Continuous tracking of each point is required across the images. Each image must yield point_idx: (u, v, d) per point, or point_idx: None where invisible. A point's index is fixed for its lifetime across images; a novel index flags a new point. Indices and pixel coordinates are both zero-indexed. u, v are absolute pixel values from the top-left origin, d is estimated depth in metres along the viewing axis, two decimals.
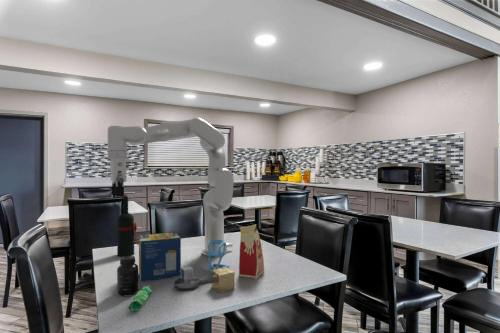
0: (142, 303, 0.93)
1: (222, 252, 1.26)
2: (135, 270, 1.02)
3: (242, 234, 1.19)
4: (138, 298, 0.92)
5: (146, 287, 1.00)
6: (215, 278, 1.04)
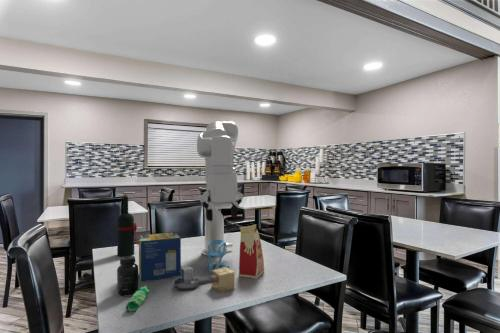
0: (139, 303, 0.93)
1: (222, 252, 1.26)
2: (135, 270, 1.02)
3: (242, 234, 1.19)
4: (135, 298, 0.92)
5: (144, 287, 1.00)
6: (215, 278, 1.04)
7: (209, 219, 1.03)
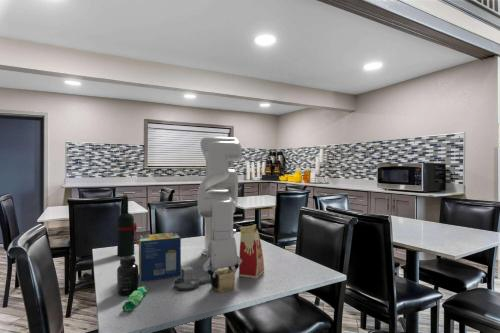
0: (136, 303, 0.93)
1: None
2: (135, 270, 1.02)
3: (242, 234, 1.19)
4: (132, 298, 0.92)
5: (141, 287, 1.00)
6: None
7: (214, 286, 1.04)
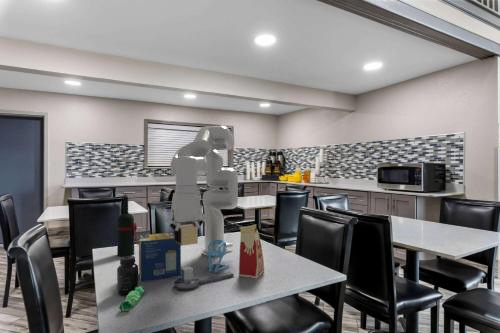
0: (133, 303, 0.93)
1: (222, 252, 1.26)
2: (135, 270, 1.02)
3: (242, 234, 1.19)
4: (129, 298, 0.92)
5: (139, 287, 1.00)
6: None
7: (177, 240, 1.06)
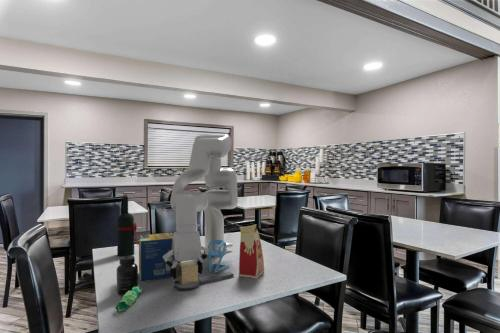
0: (130, 303, 0.93)
1: (222, 252, 1.26)
2: (135, 270, 1.02)
3: (242, 234, 1.19)
4: (126, 298, 0.92)
5: (136, 287, 1.00)
6: (179, 271, 1.06)
7: (173, 277, 1.05)
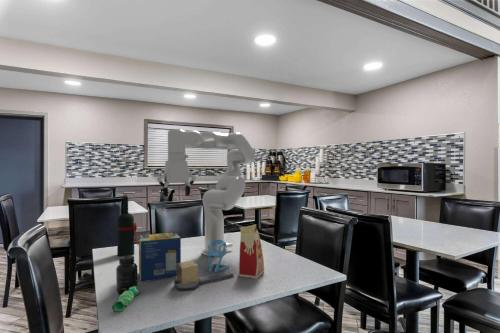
0: (127, 303, 0.93)
1: (222, 252, 1.26)
2: (134, 269, 1.03)
3: (242, 234, 1.19)
4: (123, 298, 0.92)
5: (133, 287, 1.00)
6: (179, 271, 1.06)
7: (165, 195, 1.29)
